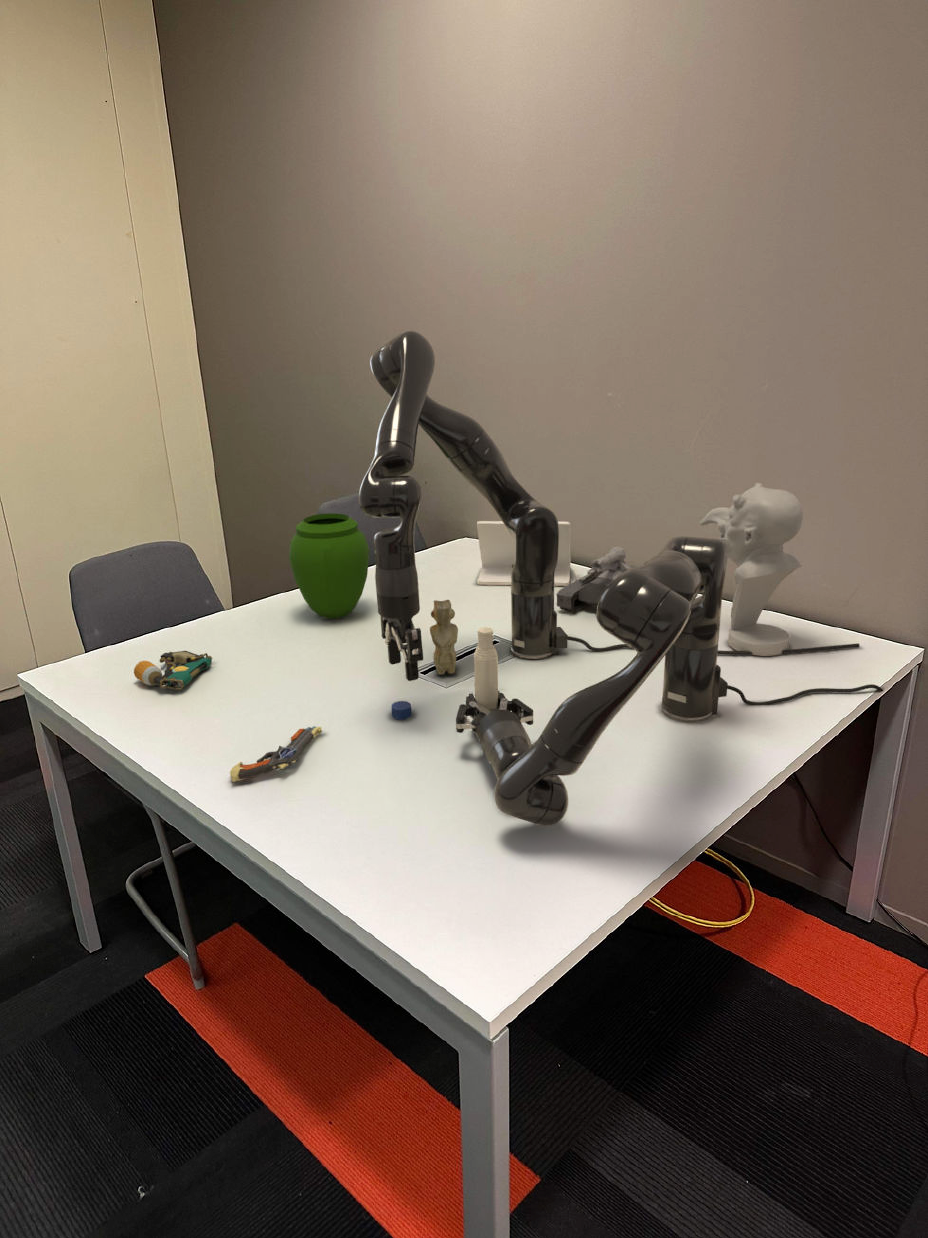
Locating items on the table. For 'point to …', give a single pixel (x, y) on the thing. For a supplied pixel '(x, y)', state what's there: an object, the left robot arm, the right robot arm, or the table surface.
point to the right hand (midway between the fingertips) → (483, 696)
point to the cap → (401, 710)
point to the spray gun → (172, 669)
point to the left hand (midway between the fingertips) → (403, 671)
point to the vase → (329, 563)
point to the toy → (593, 581)
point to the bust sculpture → (758, 561)
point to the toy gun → (277, 756)
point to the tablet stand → (514, 554)
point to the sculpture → (444, 637)
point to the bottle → (486, 670)
